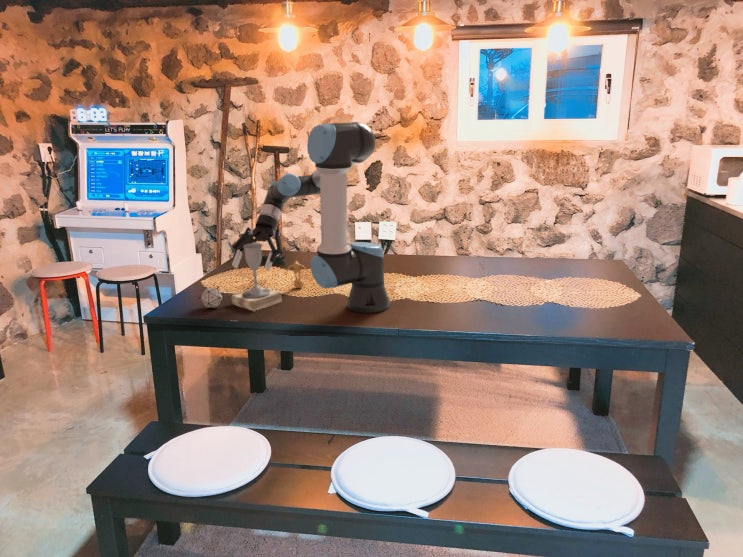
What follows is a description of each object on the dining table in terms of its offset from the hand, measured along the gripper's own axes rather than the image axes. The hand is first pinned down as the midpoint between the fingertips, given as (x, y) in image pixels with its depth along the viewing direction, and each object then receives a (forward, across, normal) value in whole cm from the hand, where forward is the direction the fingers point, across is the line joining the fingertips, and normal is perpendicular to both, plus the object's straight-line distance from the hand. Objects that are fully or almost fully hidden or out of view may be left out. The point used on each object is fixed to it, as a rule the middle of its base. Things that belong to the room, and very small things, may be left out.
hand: (250, 268), depth 215 cm
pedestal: (+8, 0, -12) cm, 14 cm away
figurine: (-5, -7, -26) cm, 27 cm away
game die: (+15, +13, -5) cm, 21 cm away
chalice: (+6, 0, -9) cm, 11 cm away
